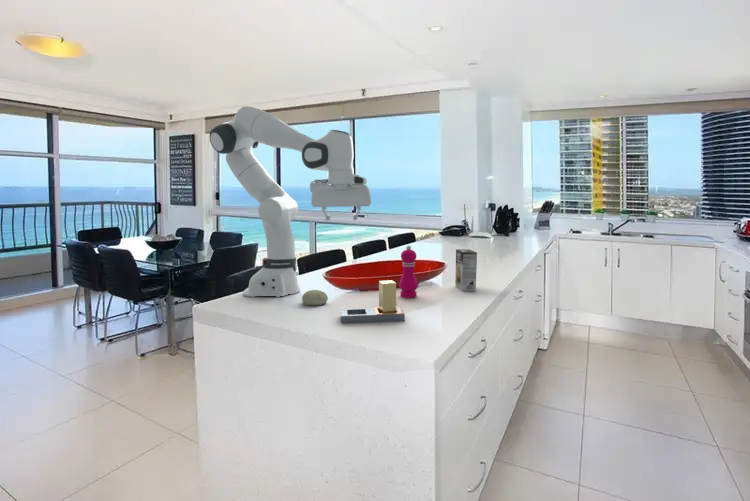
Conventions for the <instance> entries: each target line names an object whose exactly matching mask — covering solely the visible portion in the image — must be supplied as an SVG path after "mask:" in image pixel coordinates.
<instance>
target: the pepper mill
mask: <svg viewBox="0 0 750 501" xmlns="http://www.w3.org/2000/svg"><path fill="white" fill-rule="evenodd" d="M400 259H401V260H402V264H401V265H402V267H403V273H402V276H401V277H400V280H399V285H398V286H399V289H400V290H401V291H400V297H401V298H404V299H413V298H416V297H417V293H418V292H417V291H416V290H417V289H418V288H419V287H418V286H419V285H418V279H417V277H416V274H415V270H414V269H415V266H416V262H415V261H416V259H417V253H416V251H415V250H413V249H412V246H410V245H406V249H404V250H403V251H402V252H401V254H400Z"/></svg>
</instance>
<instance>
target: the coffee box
mask: <svg viewBox="0 0 750 501" xmlns="http://www.w3.org/2000/svg"><path fill="white" fill-rule="evenodd" d="M477 263H478V252H477V251H474V250H472V249H469V248H468V249H466V248H465V249H463V248H461V249H458V248H457V249H455V287H456V288H457V289H458V290H460V291H461V292H474V291H477V270H478V269H477V268H478V267H477V266H478V265H477Z"/></svg>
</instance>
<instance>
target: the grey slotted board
mask: <svg viewBox="0 0 750 501" xmlns="http://www.w3.org/2000/svg"><path fill="white" fill-rule="evenodd" d="M405 314H406V313H405V311H403V309H402V307H401V306H396V313H379V306H378V307H377V306H376V307H375V306H374V307H369V308H368V307H365V308H364V307H363V308H341V309H340V323H341V324H367V323H369V324H370V323H392V322H393V323H394V322H395V323H396V322H406V319H405V317H406V315H405Z"/></svg>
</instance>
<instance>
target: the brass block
mask: <svg viewBox="0 0 750 501" xmlns="http://www.w3.org/2000/svg"><path fill="white" fill-rule="evenodd" d="M378 301H379V302H378V307H379V313H396V307H397V282H395V281H394V280H392V279H391V280H389V279H387V280H379V281H378Z"/></svg>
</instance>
